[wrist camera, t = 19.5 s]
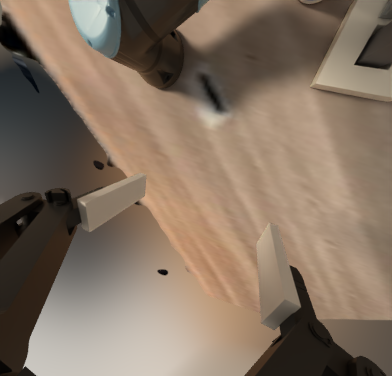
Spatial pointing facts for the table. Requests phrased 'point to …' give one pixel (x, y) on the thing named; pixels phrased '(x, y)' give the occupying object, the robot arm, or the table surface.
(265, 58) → the table surface
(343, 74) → the socket plate
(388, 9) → the plate
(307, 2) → the supplement tub
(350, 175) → the table surface
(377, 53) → the plug
